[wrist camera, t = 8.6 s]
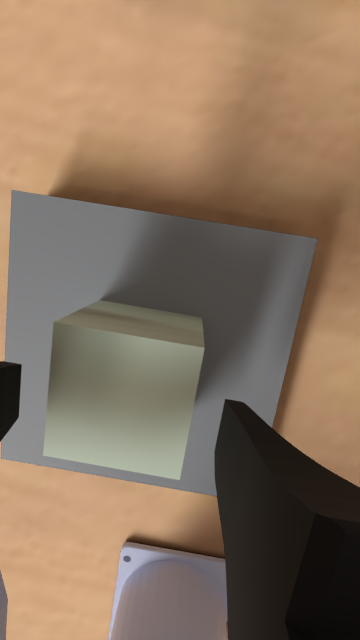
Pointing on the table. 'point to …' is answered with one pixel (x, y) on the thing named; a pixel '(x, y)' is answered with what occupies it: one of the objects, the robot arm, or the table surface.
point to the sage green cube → (123, 387)
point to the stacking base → (155, 293)
